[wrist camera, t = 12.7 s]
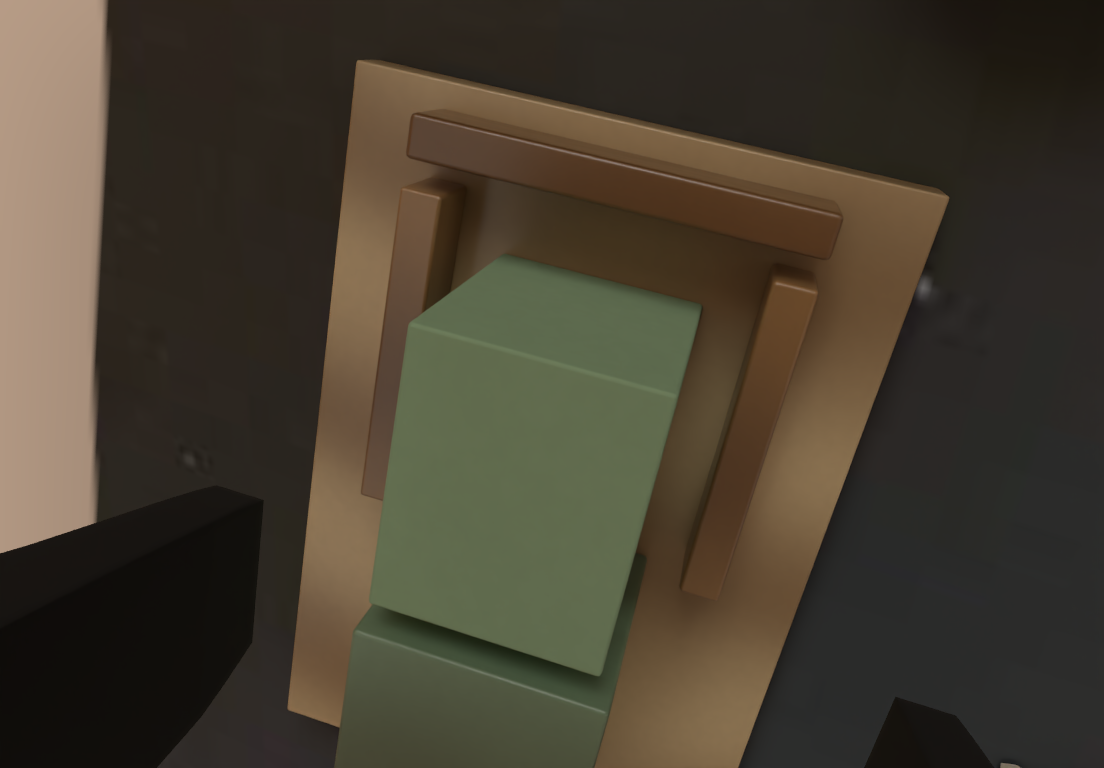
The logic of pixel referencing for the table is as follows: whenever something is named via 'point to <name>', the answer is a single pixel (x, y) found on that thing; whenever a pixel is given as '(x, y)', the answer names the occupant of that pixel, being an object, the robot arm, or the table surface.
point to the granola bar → (1009, 766)
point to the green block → (529, 456)
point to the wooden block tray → (694, 437)
